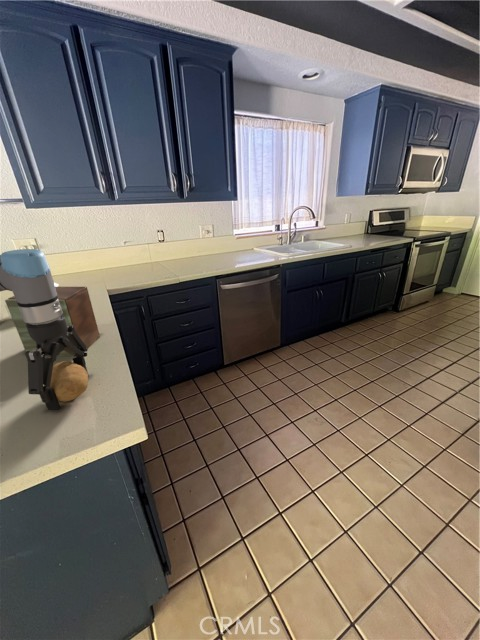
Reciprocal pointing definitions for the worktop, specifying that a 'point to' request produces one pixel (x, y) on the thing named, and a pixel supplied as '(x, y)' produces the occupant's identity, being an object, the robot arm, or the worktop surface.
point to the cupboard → (79, 312)
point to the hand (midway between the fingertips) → (70, 392)
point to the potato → (68, 380)
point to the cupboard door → (21, 325)
